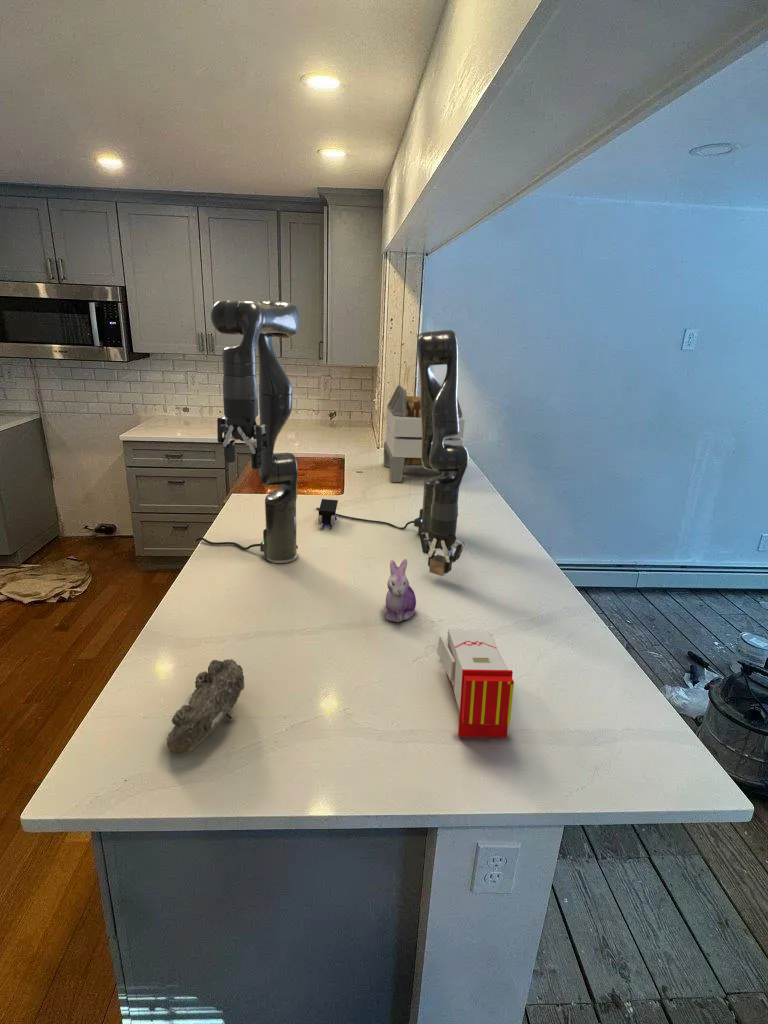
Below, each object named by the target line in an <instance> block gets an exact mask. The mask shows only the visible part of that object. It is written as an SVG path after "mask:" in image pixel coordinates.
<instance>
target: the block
mask: <svg viewBox="0 0 768 1024" xmlns="http://www.w3.org/2000/svg"><path fill="white" fill-rule="evenodd" d="M445 562H446V559H445V555H441V554H435V556H434V557H433V558H431V559H430V568H428V569H429V570H428V572H429V573H430V574H433V575H437V576H440V577H444V576H445V575H447V574H446V573H444V571H445Z"/></svg>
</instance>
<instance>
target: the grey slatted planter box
mask: <svg viewBox="0 0 768 1024" xmlns="http://www.w3.org/2000/svg"><path fill="white" fill-rule="evenodd" d="M407 394H408V393H407V390H406V389H404V388H403V387H402V385H399V384H398V385H397V386H396V388H395V390H394V392H393V394H392V395H391V398H390V400H389V402H388V404H387V405H386V413H385V414H386V415H385V423H386V428H385V438H384V442H383V466H384V467H388V468H389V475H388V476H389V477H388V478H389V480H390V482H391V483H402V482H403V475H404V469H405V466H406V467H407V466H411V467H412V466H413V467H415V466H416V467H417V466H418V467H423V465H422V460H421V452H422V422H421V406H420V396H415V395H414V396H413V395H412V396H411V395H407ZM457 410H458V421H459V434H458V435H457V436H455V437H452V438H448V439H445V440H444V441H443V443H444V444H452V445H461V446H463V442H464V441H463V440H462V439H463V438H464V431H465V430H464V429H465V419H464V418H463V411H462V408H461V405H460V402H459V398H458V397H457ZM442 473H443V471H442V472H440V475H441V474H442Z"/></svg>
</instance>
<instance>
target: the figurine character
mask: <svg viewBox="0 0 768 1024" xmlns="http://www.w3.org/2000/svg"><path fill="white" fill-rule="evenodd" d="M338 503H339V500H338V499H326V498H321V501H320V505H319V507H318V508H319V510H318V516H317V517H318V518H317V526H321V529H322V530H324V528H325V527H329V530H332V528H333V526H335V525H336V521H338V518H337V515H336V514H337V508H338Z"/></svg>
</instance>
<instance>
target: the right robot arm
mask: <svg viewBox="0 0 768 1024" xmlns="http://www.w3.org/2000/svg"><path fill="white" fill-rule="evenodd" d="M416 351H417V353H416V354H417V364H418V372H419V384H420V385H419V386H420V389H419V390H420V393H419V395H420V396H419V397H420V406H421V422H422V452H421V460H422V465H423V466H422V467H423V468H424V469H425V470H428V471H434V472H439V473H440V474H439V475H437V476H433V477H429V478H427V479H425V480H424V482H423V493H422V496H423V497H422V506H421V508H420V509H419V516H418V517H416V518H414V520H410V521H408V522H407V523H406V524H405V525H404V526H402V527H399V526H397V525H394V524H392V523H390V522H387V521H381V520H372V519H365V518H358V517H354V516H348V515H343V514H339V513H336V517H340V518H345V519H350V520H353V521H354V520H355V521H362V522H368V523H376V524H383V525H388V526H390V527H393V528H395V529H398V530H406V528H408V526H409V525H411V524H413V527H416V528H418V530H417V535H418V536H419V541H420V547H421V550H422V553H423V554H424V555H427V556H428V558H427V566H428V569H430V559H431V558H433V557H434V556H436V553H437V551H438V550H441V551H442V552H443V556H445V559H446V562H445V571H444V573H446V574H445V575H447V574H449V573H450V572H451V571H452V567H453V563H456V562H457V561H459V559H460V557H461V555H462V554H463V553H462V552H463V551H464V548H465V546H466V543H465V542H464V541H460V540H458V538H457V536H456V533H457V525H458V517H459V494H460V487H461V484H462V481H463V477H464V475H465V472H466V470H467V467H468V464H469V459H470V457H469V456H470V455H469V452H468V449H467V448H466V447H465V446H463V445H462V446H461V445H452V444H444V443H443V441H444V440H445V439H448V438H452V437H455V436H457V435H458V434H459V421H458V410H457V398H458V383H459V382H458V381H459V376H458V375H459V347H458V339H457V334H456V333H455V331H454V330H452V329H443V330H431V331H423V332H420V333H419V334H418V336H417V341H416ZM432 366H433V367H434V366H446V372H445V377H444V379H443V382H440V381H439V380H438V379H437V377H436V376H435V374H434V372H433V370H432V368H431V367H432ZM442 471H443V473H442V474H441V472H442ZM319 508H320V507H316V508H315V509H316V510H318V511H319ZM429 541H430V542H431V544H430V542H429ZM453 546H454V549H455V551H454V549H453ZM453 552H454V553H453Z"/></svg>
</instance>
